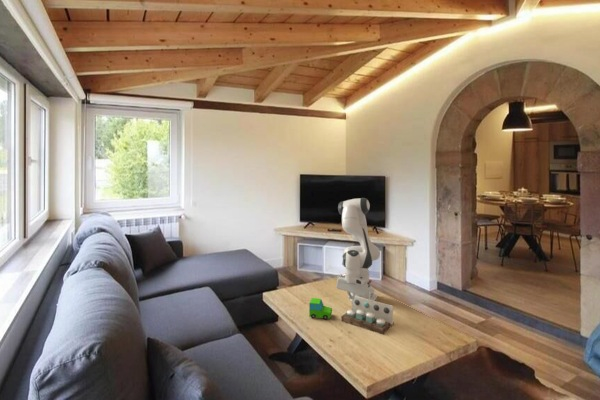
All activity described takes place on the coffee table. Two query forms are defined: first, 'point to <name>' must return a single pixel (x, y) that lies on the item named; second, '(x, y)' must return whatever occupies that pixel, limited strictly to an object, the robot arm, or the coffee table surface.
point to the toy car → (319, 309)
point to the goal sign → (374, 308)
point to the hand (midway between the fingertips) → (351, 298)
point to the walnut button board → (365, 324)
